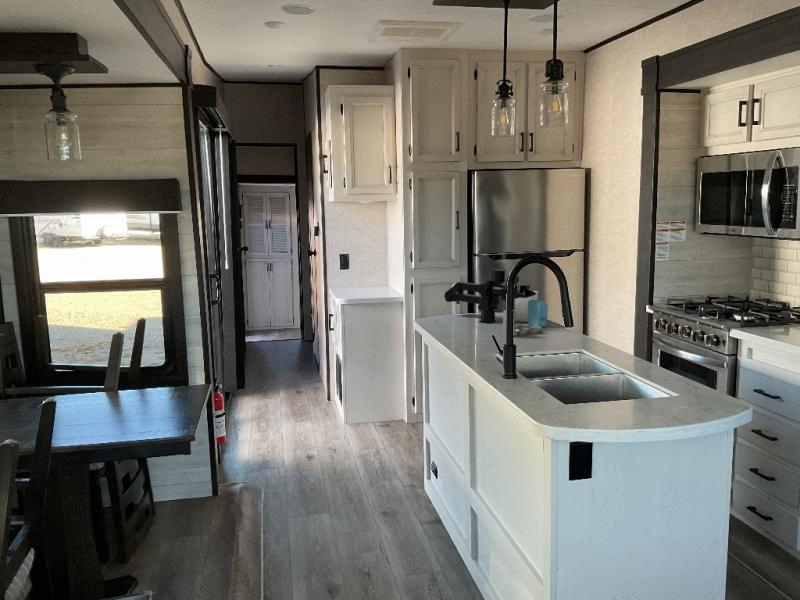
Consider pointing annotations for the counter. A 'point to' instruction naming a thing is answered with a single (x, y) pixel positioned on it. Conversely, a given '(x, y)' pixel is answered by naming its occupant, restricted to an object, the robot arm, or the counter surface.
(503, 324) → the module
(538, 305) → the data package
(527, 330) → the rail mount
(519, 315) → the supplement box
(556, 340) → the counter surface
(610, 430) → the counter surface
